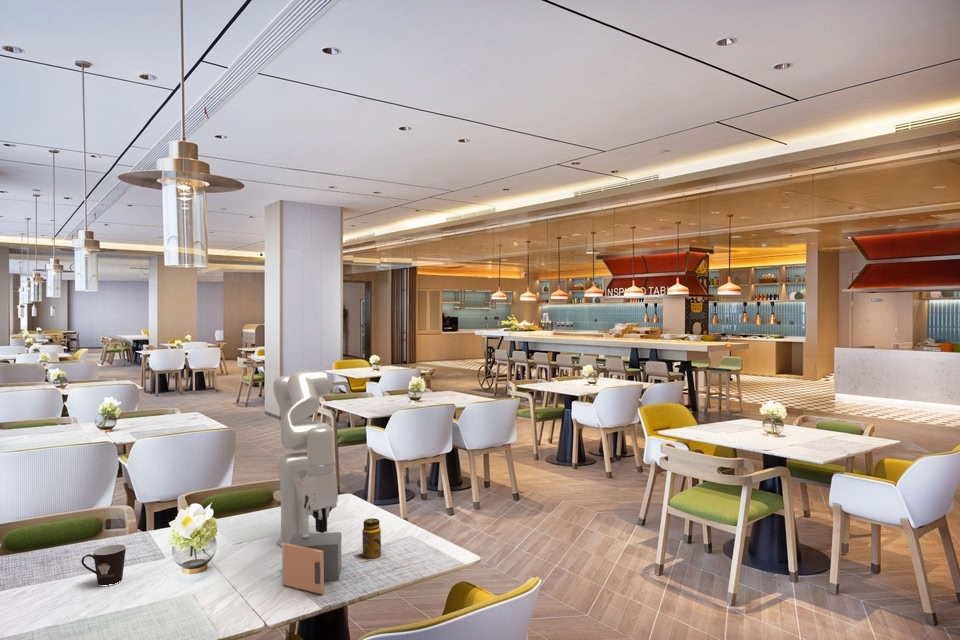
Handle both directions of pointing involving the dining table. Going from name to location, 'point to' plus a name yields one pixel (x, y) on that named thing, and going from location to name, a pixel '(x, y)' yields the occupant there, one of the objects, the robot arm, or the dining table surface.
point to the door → (303, 568)
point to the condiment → (371, 541)
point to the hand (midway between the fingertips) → (321, 531)
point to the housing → (324, 550)
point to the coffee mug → (108, 563)
